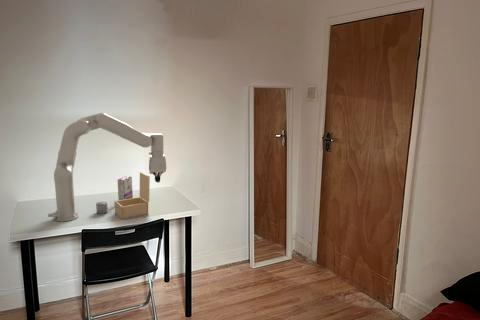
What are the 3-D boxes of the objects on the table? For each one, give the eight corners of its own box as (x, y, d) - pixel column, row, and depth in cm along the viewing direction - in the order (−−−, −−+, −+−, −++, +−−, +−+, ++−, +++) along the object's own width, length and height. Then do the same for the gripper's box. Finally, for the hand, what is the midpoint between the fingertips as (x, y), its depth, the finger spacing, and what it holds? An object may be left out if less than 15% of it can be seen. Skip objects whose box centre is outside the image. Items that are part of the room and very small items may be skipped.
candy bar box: (126, 198, 257) (125, 175, 253) (132, 199, 256) (132, 176, 252) (117, 203, 246) (117, 179, 242) (124, 203, 245) (124, 180, 241)
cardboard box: (122, 219, 217) (122, 207, 216) (114, 213, 227) (114, 201, 226) (148, 214, 227) (148, 202, 225) (139, 208, 237) (139, 197, 235)
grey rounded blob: (98, 215, 223) (98, 205, 222) (95, 212, 228) (94, 202, 227) (109, 213, 227) (108, 203, 226) (105, 210, 232) (105, 201, 231)
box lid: (148, 176, 222) (149, 176, 223) (139, 172, 232) (141, 171, 233) (148, 202, 225) (149, 201, 226) (139, 196, 235) (140, 196, 236)
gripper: (148, 155, 223) (149, 185, 226) (170, 153, 232) (171, 181, 235) (143, 153, 228) (144, 182, 232) (165, 151, 237) (165, 179, 241)
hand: (157, 181), depth 234 cm, fingers closed
